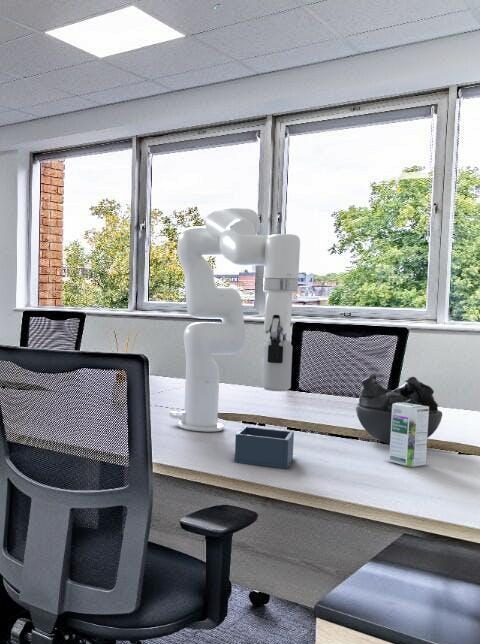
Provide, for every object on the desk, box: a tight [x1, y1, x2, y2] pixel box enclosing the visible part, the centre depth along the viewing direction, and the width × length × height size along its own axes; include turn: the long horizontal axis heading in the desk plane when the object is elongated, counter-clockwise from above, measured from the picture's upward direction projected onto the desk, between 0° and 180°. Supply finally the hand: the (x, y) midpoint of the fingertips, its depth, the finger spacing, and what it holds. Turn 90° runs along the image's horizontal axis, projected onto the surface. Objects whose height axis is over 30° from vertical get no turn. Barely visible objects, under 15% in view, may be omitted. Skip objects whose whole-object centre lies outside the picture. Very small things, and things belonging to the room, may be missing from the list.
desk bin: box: [234, 425, 295, 470], centre depth 169 cm, size 12×12×7 cm
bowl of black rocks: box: [355, 373, 443, 445], centre depth 189 cm, size 20×20×19 cm
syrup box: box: [388, 403, 429, 468], centre depth 168 cm, size 6×6×14 cm
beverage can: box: [261, 339, 293, 392], centre depth 167 cm, size 6×6×12 cm
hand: (277, 360), depth 167 cm, fingers closed on beverage can, 6 cm apart
